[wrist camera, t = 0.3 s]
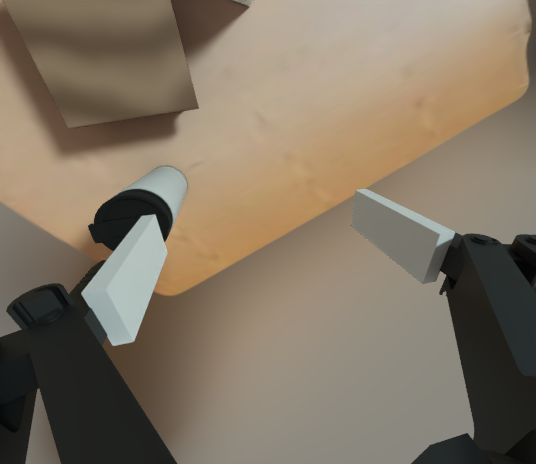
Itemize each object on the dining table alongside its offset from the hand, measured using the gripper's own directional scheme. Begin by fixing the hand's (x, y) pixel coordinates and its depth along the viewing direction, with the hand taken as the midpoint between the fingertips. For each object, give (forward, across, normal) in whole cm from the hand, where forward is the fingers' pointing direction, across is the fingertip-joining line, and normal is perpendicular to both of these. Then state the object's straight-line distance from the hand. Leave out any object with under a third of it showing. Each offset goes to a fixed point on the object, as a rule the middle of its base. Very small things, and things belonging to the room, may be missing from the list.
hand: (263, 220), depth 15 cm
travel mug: (+27, -12, -4) cm, 30 cm away
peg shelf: (+28, -13, +14) cm, 34 cm away
